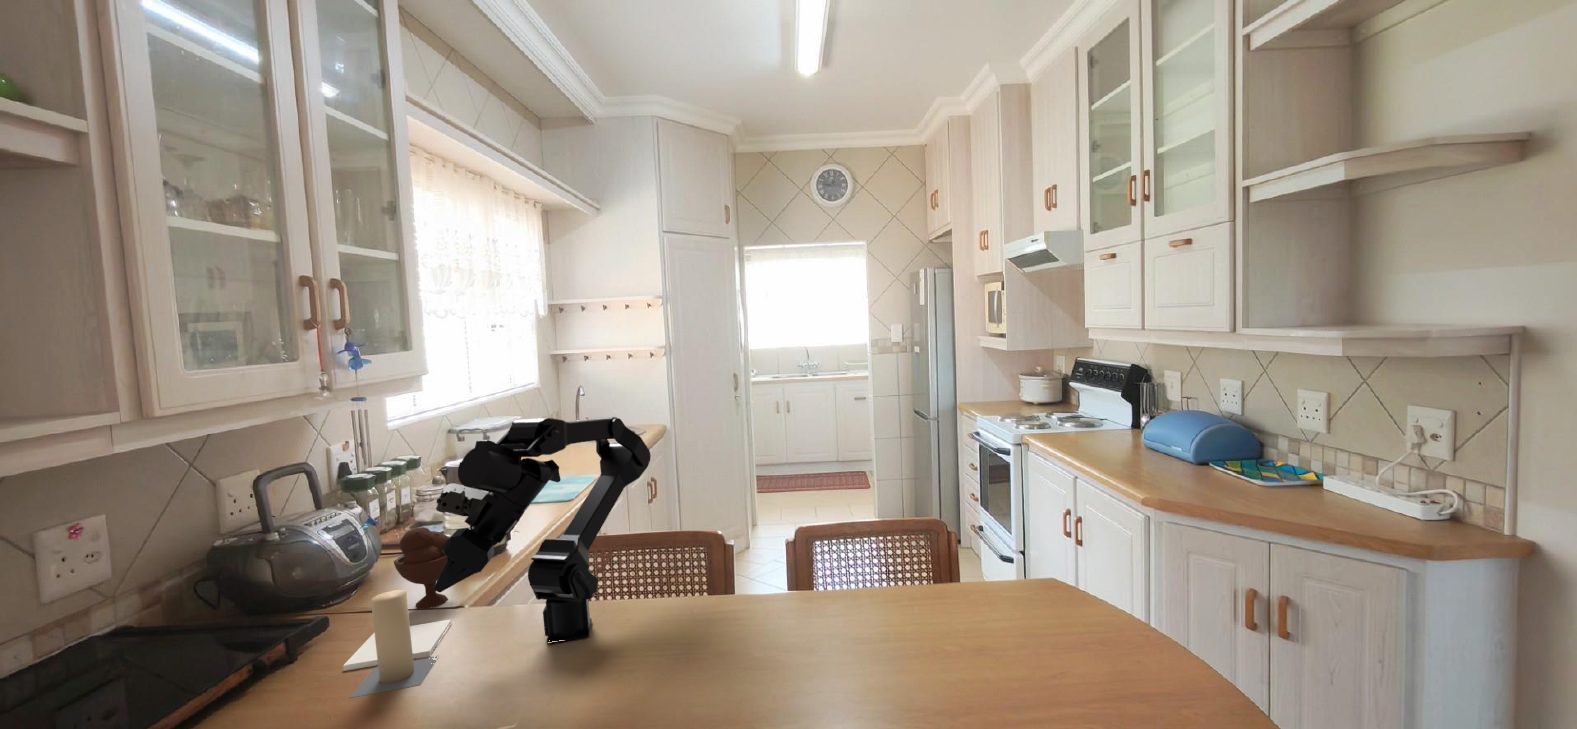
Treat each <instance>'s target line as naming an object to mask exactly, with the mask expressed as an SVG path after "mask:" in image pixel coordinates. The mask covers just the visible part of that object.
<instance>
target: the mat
mask: <svg viewBox="0 0 1577 729" xmlns="http://www.w3.org/2000/svg"><path fill="white" fill-rule="evenodd" d="M435 656H436V657H435V658H437V656H438V655H435ZM429 658H430V659H429ZM432 658H434V656H428V657H422V658H416V659H413V663H414V673H413V674H412V675H410V676H409V677H407V678H405V679H403V680H400V681H397V682H394V683H386V684H385V683H381V682H380V680H379V671H378V665H376V666H374V668H373V669H372V670H371V671H370V672H369V674H367V676H366V677H365V679H363V681H361V683H360V684H359V685H358V686H357V688H356V689H355V691H354V692H353V693H352V694H351V695H350V696H349V699H351V698H352V699H353V698H356V697H363V696H368V695H373V694H374V695H375V694H380V693H385V692H386V693H387V692H391V691H397V690H401V689H407V688H413V687H418V686H419V687H420V686H421V685H422V684H423V682H424V681H425V679H426V677H427V676H428V674H429V673H430V672H431V670H432V669H433V667H434V665H435V664H433V663H436V662H437V661H436V660H433V659H432ZM431 663H432V664H431Z"/></svg>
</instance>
